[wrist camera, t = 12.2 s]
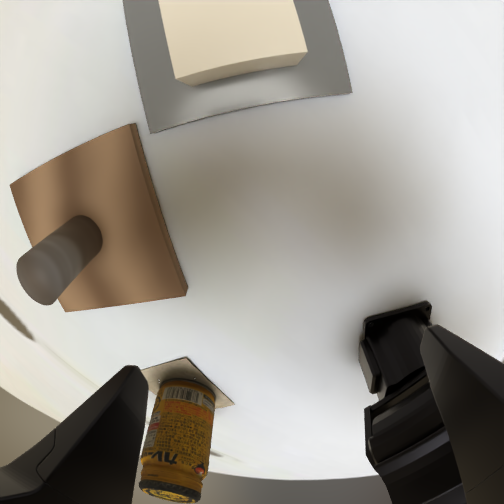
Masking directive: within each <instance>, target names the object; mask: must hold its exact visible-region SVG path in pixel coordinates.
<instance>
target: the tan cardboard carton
mask: <svg viewBox="0 0 504 504" xmlns="http://www.w3.org/2000/svg"><path fill="white" fill-rule="evenodd" d="M158 1H159V6H160V11H161V16H162V21H163V25H164V30H165V35H166V39H167V44H168V48H169V53H170V57H171V62H172V66H173V70H174V75H175V79H177V80H179V81H181V82H183V83H185V84H187V85H189V86H191V87H192V86H195V85H199V84H203V83H206V82H210V81H214V80H218V79H222V78H227V77H231V76H235V75H240V74H245V73H250V72H255V71H261V70H266V69H273V68H279V67H286V66H294V65H297V64H298V63H299V62H300V60H301V59H302V58H303V57H304V56H305V54H306V53H307V52H308V51H307V47H306V43H305V39H304V36H303V32H302V29H301V25H300V22H299V18H298V15H297V11H296V8H295V5H294V2H293V0H158Z"/></svg>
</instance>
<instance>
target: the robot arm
mask: <svg viewBox="0 0 504 504" xmlns="http://www.w3.org/2000/svg"><path fill="white" fill-rule="evenodd" d="M426 307H427V308H426ZM431 309H432V306H431V304H430V303H429V302H424V303H421V304H418V305H414V306H411V307H407V308H403V309H400V310H396V311H392V312H389V313H385V314H381V315H377V316H373V317H369V318H367V319H366V320H365V321H364V329H363V340H361V342H360V349H359V362H360V365H361V368H362V371H363V374H364V377H365V380H366V383H367V386H368V389H369V392H370V393H372V394H375V393H377V395H378V398H379V401H378V402H377V403H375V404H373V405H372V406H371V405H370V406H368V407H366V408H365V409H364V416H365V418H364V420H365V445H366V456H367V458H368V460H369V462H370V463H371V465H372V467H373V468H374V470H375V471H376V472H377V473H378V474H379V475H380V476H381V477H382V480H383V481H384V483H385V485H386V487H387V490H388V492H389V495H390V498H391V501H392V504H504V364H503V363H502V362H500V361H498V360H497V359H495V358H493V357H492V356H490V355H489V354H487V353H485V352H484V351H482V350H480V349H479V348H477V347H475V346H474V345H472V344H470V343H469V342H467V341H465V340H464V339H462V338H460V337H458V336H457V335H455V334H453V333H452V332H450V331H448V330H447V329H445V328H443V327H441V326H440V325H432V323H431V322H430V320H429V319H430V314H431ZM369 323H371V324H369ZM148 391H149V385H148V381H147V380H146V378H145V376H144V375H143V373H142V372H141V370H140V368H139V367H138V366H136V365H127V366H124V367H123V368H122V369H121V370H120V371H119V372H118V373H116V374H115V375H114V376H113V377H112V378H111V379H110V380H109V381H108V382H106V383H105V384H104V385H103V386H102V387H101V388H100V389H99V390H97V391H96V392H95V393H94V394H93V395H92V396H91V397H90V398H88V399H87V400H86V401H85V402H84V403H83V404H82V405H81V406H79V407H78V408H77V409H76V410H75V411H74V412H73V413H72V414H70V415H69V416H68V417H67V418H66V419H65V420H64V421H63V422H61V423H60V424H59V425H58V426H57V427H56V429H53V430H52V431H51V432H50V433H49V434H48V435H47V436H46V437H44V438H43V439H42V440H41V441H40V442H38V443H37V444H36V445H34V446H33V447H32V448H30V449H29V450H28V451H26V452H25V453H24V454H22V455H21V456H19V457H18V458H17V459H15V460H14V461H12V462H11V463H9V464H8V465H6V466H3V467H0V504H132V497H133V490H134V484H135V478H136V472H137V466H138V460H139V455H140V449H141V444H142V439H143V434H144V428H145V421H146V410H147V400H148Z"/></svg>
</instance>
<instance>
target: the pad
mask: <svg viewBox="0 0 504 504" xmlns="http://www.w3.org/2000/svg"><path fill="white" fill-rule="evenodd" d="M293 2H294V5H295V8H296V11H297V15H298V18H299V22H300V25H301V29H302V32H303V36H304V39H305V43H306V47H307V51H308V52H307V53H306V54H305V56H304V57H303V58H302V59H301V60H300V62H299V63H298V64H297V65H294V66H286V67H279V68H273V69H266V70H261V71H255V72H250V73H245V74H240V75H235V76H231V77H227V78H222V79H218V80H214V81H210V82H206V83H203V84H199V85H195V86H192V87H191V86H189V85H187V84H185V83H183V82H181V81H179V80H177V79H175V75H174V70H173V66H172V62H171V57H170V53H169V48H168V44H167V39H166V35H165V30H164V25H163V21H162V16H161V11H160V6H159V1H158V0H123V6H124V12H125V19H126V25H127V30H128V36H129V41H130V47H131V52H132V57H133V62H134V66H135V71H136V76H137V80H138V85H139V89H140V94H141V98H142V102H143V106H144V111H145V115H146V119H147V123H148V127H149V130H150V134H152V133H155V132H158V131H162V130H165V129H168V128H171V127H174V126H178V125H181V124H184V123H188V122H191V121H195V120H198V119H202V118H206V117H210V116H214V115H218V114H222V113H226V112H230V111H235V110H239V109H244V108H249V107H254V106H259V105H264V104H270V103H276V102H282V101H288V100H295V99H302V98H310V97H318V96H327V95H338V94H350V93H352V88H351V83H350V79H349V74H348V70H347V65H346V61H345V57H344V53H343V49H342V45H341V41H340V38H339V34H338V30H337V27H336V23H335V20H334V17H333V14H332V10H331V7H330V4H329V1H328V0H293Z"/></svg>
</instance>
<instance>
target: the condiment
mask: <svg viewBox="0 0 504 504" xmlns="http://www.w3.org/2000/svg"><path fill="white" fill-rule="evenodd" d="M141 372H142V373H143V375H144V376H145V378H146V380H147V381H148V385H149V390H150V391H151V392H153V393H154V394H155V395H157V397H156V401H155V404H154V408H153V412H152V415H151V420H150V424H149V427H148V430H147V435H146V439H145V442H144V447H143V451H142V455H141V463H142V465H143V469H142V472H141V481H140V482H139V487H140V489H141V490H142V491H143V492H145V493H147V494H149V495H151V496H155V497H157V498H160V499H164V500H168V501H173V502H179V503H196V502H198V501H199V500H200V498H201V488H202V485H203V484H202V482H201V481H202V480H203V479H204V478H205V477H206V475H207V473H208V466H209V456H210V448H211V437H212V429H213V420H214V411H215V408H223V407H227V406H231V405H235V404H233V403H232V402H231V401H230V400H229V399H228V398H227V397H226V396H225V395H224V394H223V393H222V392H221V391H220V390H219V389H218V388H217V387H216V386H215V385H213V384H212V383H211V382H210V381H208V380H207V379H206V377H205V376H204V375H203V374H202V373H201V372H200V371H199V370H198V369H197V368H195V367H194V366H193V365H192V364H191V363H190V362H189V361H188V360H187V359H186V358H185V359H181V360H176V361H172V362H169V363H164V364H161V365H158V366H154V367H153V366H152V367H150V368H148V369H145V370H141ZM158 379H160V381H158ZM159 382H160V383H159Z"/></svg>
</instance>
